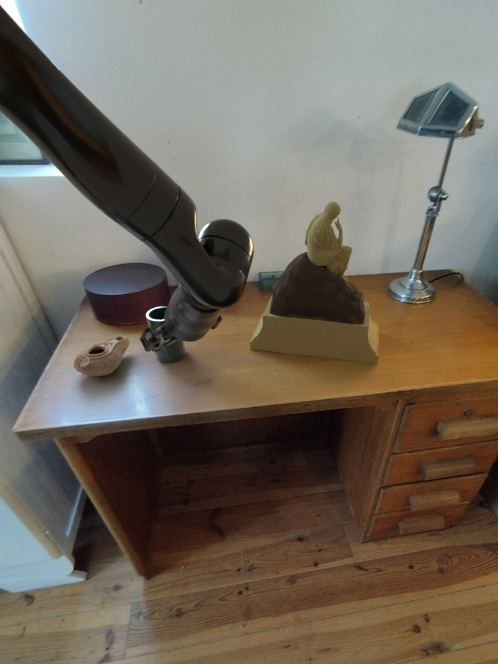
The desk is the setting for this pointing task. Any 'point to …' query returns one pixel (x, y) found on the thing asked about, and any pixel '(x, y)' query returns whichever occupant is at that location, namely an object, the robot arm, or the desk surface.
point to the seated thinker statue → (319, 302)
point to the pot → (171, 351)
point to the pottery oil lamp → (102, 357)
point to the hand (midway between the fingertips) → (175, 340)
